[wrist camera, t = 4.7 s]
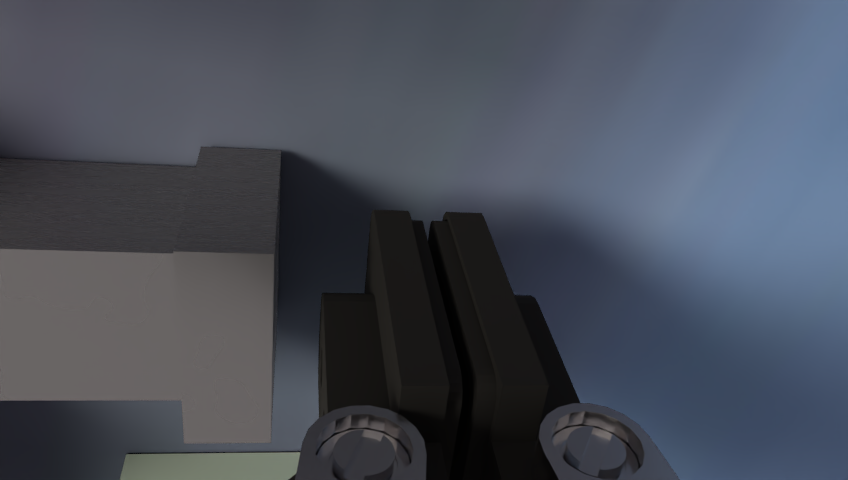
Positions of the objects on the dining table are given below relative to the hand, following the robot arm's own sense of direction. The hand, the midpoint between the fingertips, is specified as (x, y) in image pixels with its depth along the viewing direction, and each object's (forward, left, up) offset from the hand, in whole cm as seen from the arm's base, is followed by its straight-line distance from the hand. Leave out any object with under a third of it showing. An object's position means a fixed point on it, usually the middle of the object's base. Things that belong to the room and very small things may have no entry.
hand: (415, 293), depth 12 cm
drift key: (+6, 0, -1) cm, 7 cm away
